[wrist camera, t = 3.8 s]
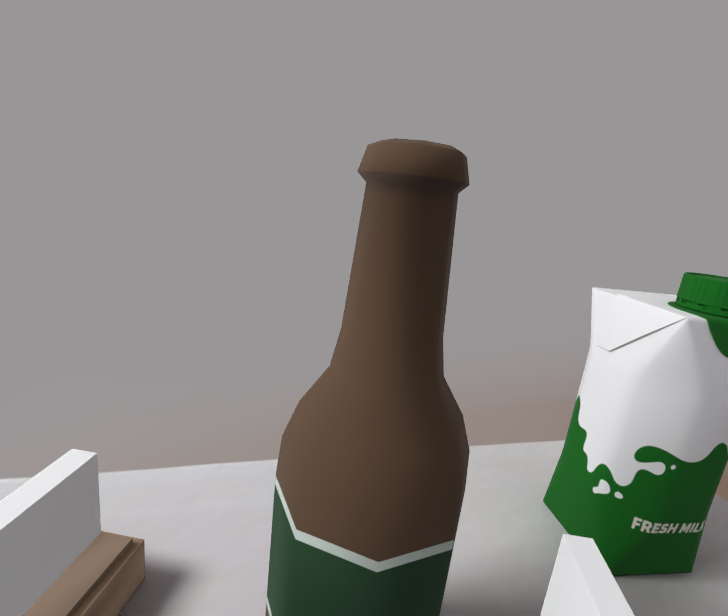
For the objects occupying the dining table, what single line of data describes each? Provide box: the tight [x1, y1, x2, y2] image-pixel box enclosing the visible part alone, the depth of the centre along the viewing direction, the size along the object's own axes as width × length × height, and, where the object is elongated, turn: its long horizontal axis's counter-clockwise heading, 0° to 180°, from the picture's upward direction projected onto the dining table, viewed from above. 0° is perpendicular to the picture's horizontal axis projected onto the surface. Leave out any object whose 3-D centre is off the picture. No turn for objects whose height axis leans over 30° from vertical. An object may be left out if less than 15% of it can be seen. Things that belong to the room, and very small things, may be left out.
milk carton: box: [543, 272, 728, 575], centre depth 29 cm, size 9×9×20 cm
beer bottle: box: [266, 139, 469, 616], centre depth 17 cm, size 8×8×24 cm
